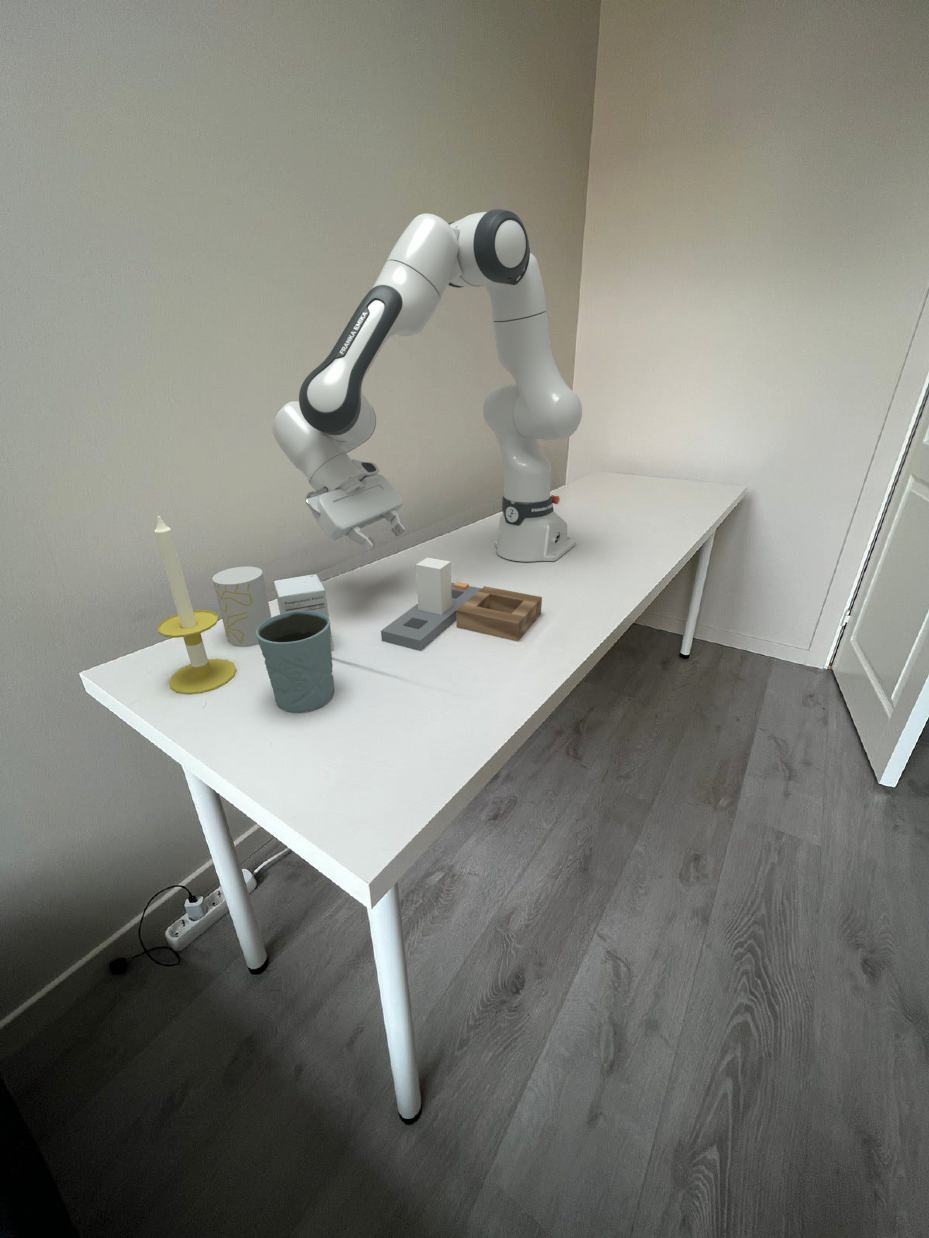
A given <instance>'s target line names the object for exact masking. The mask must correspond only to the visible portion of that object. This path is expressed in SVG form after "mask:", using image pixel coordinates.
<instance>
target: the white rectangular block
mask: <svg viewBox="0 0 929 1238" xmlns="http://www.w3.org/2000/svg"><path fill="white" fill-rule="evenodd" d="M415 573H416V574H415V576H416V593H417V604H418V610H422V611H427V612H431V613H436V614H440V615H442V614H443V613H444V612H446V611H447V610H448V609H449V608H450V607H452V589H451V583H452V562H451V560H450V561H449V560H443V559H437V558H432V557H425V558H424V559H422V560H420V561H419V562H418V563H416V564H415Z"/></svg>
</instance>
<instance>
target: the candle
mask: <svg viewBox="0 0 929 1238" xmlns="http://www.w3.org/2000/svg"><path fill="white" fill-rule="evenodd" d="M156 513H157V516H156V527H155V529H154V536H155V539H156V543H157V546H158V550H159V553H160V556H161V560H162V563H163V566H164V570H165V573H166V577H167V580H168V584H169V588H170V591H171V594H172V598H173V602H174V605H175V609H176V613H177V614H174V615H171V616H168V617H167V618H166V619H163V620H162V621H160V623H159V624H158V626H157V628H156V629H157V631H158V634H160V635H161V636H163V637H166V638H174V639H175V638H176V639H177V638H183V640H184V641H183V642H184V645H185V648H186V652H187V655H188V659H189V662H190V664H187V665H185V666H183V667H181V668H179V669H178V670H176V672H174V673H173V674H172V675H171V677H170V678H169V680H168V684H169V685H168V686H169V688H170V690H171V691H173V692H175V693H176V694H183V695H196V694H197V695H198V694H204V693H207V692H210V691H215V690H216V689H219V688H220V687H222V686H225V684H228V683H229V682H230V681H231V680H232V679H234V677H235V675H236V672H237V667H236V666H235V663H234V662H232V661H230V660H228V659H222V658H209V659H208V656H207V652H206V648H205V645H204V644H205V643H204V640H203V637H202V633H205V632H206V631H209V630H211V628H213V627H215V626H216V625H217V623H218V621H219V615H218V614H217V613H216V612H214V611H212V610H205V609H196V610H194V609H193V606H192V602H191V598H190V595H189V591H188V587H187V584H186V579H185V575H184V573H183V569H182V565H181V562H180V561H181V560H180V557H179V554H178V550H177V546H176V543H175V539H174V535H173V532H172V528H171V527H169V526H168V525H166V523H165V522H164V520H163V519H162V517H161V515H159V512H156Z"/></svg>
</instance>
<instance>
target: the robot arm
mask: <svg viewBox="0 0 929 1238" xmlns="http://www.w3.org/2000/svg"><path fill="white" fill-rule="evenodd" d="M542 277H543V276H542V274H541V270H540V265H539V261H538V259H537V258H536V256H535V255H534V254H533V253H531V248H530V242H529V236H528V233H527V230H526V227H525V225H524V223H523V221H522V219H521V218H520V217H519V216H518V215H517V214H516V213H514V212H513V211H510V210H507V209H501V208H494V209H491V210H489V211H481V212H474V213H472V214H469V215H466V216H465V217H463V218H461V219H458V220H456V221H451V222H447V221H446V220H444V218H442V217H440V216H438V215H436V214H434V213H421V214H418V215H417V216H415V217H414V218H413V219H412V220H411V221H410V223H409V224H408V225H407V226H406V228H405V229H404V231H403V232H402V234H401V235H400V237H399V239H398V240H397V241H396V242H395V244H394V246H393V248H392V250H391V252H390V253H389V255H388V257H387V260H386V262H385V263H384V265H383V267H382V269H381V271H380V273H379V275H378V277H377V279H376V280H375V282H374V284H373V286H372V288H371V289H370V290H369V291H368V292H367V293H366V295H365V296H364V297H363V299H362V300H361V302H360V303H359V304H358V306H357V308H356V309H355V310H354V312H353V314H352V316H351V318H350V319H349V321H348V323H346V326H345V327H344V329H343V331H342V333H341V334H340V336H339V338H338V339H337V341H336V343H335V344H334V346H333V348H332V349H331V351H330V353H329V354H328V355H327V356H326V358H325V359H324V360H323V361H322V362H321V363H320V364H319V365H318V366H317V367H315V368H314V369H313V370H312V371H311V372H310V373H308V374H307V376H306V377H305V379H304V380H303V382H302V384H301V385H300V388H299V393H298V400H297V401H295V400H293V401H289V402H287V403H285V404H284V405H283V406H281V407H280V409H278V411H277V413H276V414H275V416H274V419H273V422H272V427H271V428H272V434H273V436H274V438H275V441H276V442H277V444H278V446H279V447H280V449H281V450H282V452H283V454H285V455H286V457H287V459H289V461H290V462H291V463H292V464H293V465H294V467H295V468H296V469H297V470H299V471H300V472H301V473H303V475H304V476H305V478H306V480H307V482H308V485H310V486H311V487H312V489H313V490H314V491H313V490H312V491H309V492H307V493H306V497H305V499H304V500H305V504H306V506H307V507H308V508H309V510H310V511H311V514H312V515H313V517H314V519H315V521H316V523H317V525H318V526H319V527H320V529H321V530H322V532H323V533H324V534H325V535H326V536H327V537H328V538H330V539H332V540H333V541H337V540H339V539H341V538H344V537H346V536H347V537H348V538H349V539H350V541H353V543H356V544H359V545H360V546H361V547H363V549H364V550H365V551H366V552H370V551H372V550H374V549H375V547H376V546H377V542H376V541H375V540H374V538H373V537H372V536H370V537H368V536H366V535H365V534H363V533H362V532H361V531H362V530H361V529H363V528H365V527H367V526H370V525H372V524H374V523H377V522H379V521H381V520H383V519H384V520H386V522H388V523H389V522H390V525H391V527H392V529H391V532H392V533H393V534H394V536H396V537H398V536H401V535H403V534H404V532H405V531H406V528H405V527H404V525H403V524H402V523H401V519H400V516H399V513H398V511H399V510H400V509H401V507H402V506H403V505H404V502H403V498H402V496H401V495H400V493H399V492H398V491H397V489H396V488H395V487H394V485H392V483H391V482H390V481H389V480H388V478H386V476H384V475H382V474H379V472H380V468H379V467H378V466H377V464H375V463H374V462H369V461H361V460H357V459H354V458H353V459H351V458H350V456H349V455H348V454H347V453H349V452H351V451H353V450H355V449H357V448H358V447H359V446H361V445H363V444H364V443H366V442H367V441H368V440H369V439H370V438H371V437H372V435H373V434H374V432H375V429H376V426H377V416H376V412H375V410H374V407H373V406H372V404H371V403H370V402H369V401H368V399H367V398H366V396H364V395H363V383H364V380H365V377H366V376H367V374H368V373H369V370H370V369H371V367H372V366H373V364H374V363H375V360H377V359H376V358H377V357H378V356H379V353H380V352H381V350H382V349H383V347H384V345H385V344H386V342H387V341H388V340H389V339H390V338H391V337H393V336H399V337H400V336H401V337H410V336H414V335H417V334H419V333H421V332H422V331H423V329H425V327H426V326H427V324H428V323H429V322H430V320H431V319H432V317H433V315H434V314H435V312H436V310H437V309H438V306H439V304H440V302H441V300H442V299H443V296H444V294H445V292H446V289H447V287H448V286H449V287H453V288H457V289H459V288H460V289H461V288H478V287H479V288H480V287H483V286H484V288H485V289H486V291H487V293H488V295H489V298H490V303H491V304H490V305H491V315H492V316H491V317H492V323H493V330H494V331H493V332H494V338H495V345H496V352H497V357H498V361H499V363H500V365H501V366H502V367H503V368H504V369H505V370H506V371H508V373H509V374H510V375H511V376H512V379H513V381H514V382H515V384H512V383H510V384H506V385H505V384H504V385H501V386H497V387H494V388H493V389H491V390H490V391H489V392H488V393H487V394H486V396H485V399H484V401H483V407H482V408H483V409H482V415H483V419H484V421H485V423H486V425H487V426H488V427H489V428H490V429H491V431H492V432H493V434H494V435H495V438H496V440H497V443H498V446H499V450H500V453H501V456H502V457H501V458H502V463H503V477H504V479H503V480H504V481H503V483H504V485H503V492H504V493H503V496H502V497H501V498H502V499H501V500H502V501H501V512H502V514H501V515H500V516H499V523H498V532H497V540H495V541H494V546H495V548H496V551H495V552H496V555H498V556H499V557H500V558H503V559H506V560H509V561H514V562H515V561H516V562H524V563H525V562H526V563H527V562H541V561H543V562H555V561H557V560H559V559H560V558H561V557H562V556H564V555H565V554H566V553H567V552H569V551H570V550H571V549H572V548H573V547H574V546H576V545H577V543H576V540H575V539H573V538H572V537H570V536H568V524H567V521H565V520H564V519H563V518H562V517H561V516H560V515H559V514H557V513H556V512H555V511H554V504H555V505H559V503H560V499H561V498H560V496H559V495H553V494H552V495H551V484H552V464H551V462H550V460H549V458H548V457H547V456H546V455H545V454H544V453H543V451H542V449H541V447H540V444H539V441H538V439H539V440H542V441H543V440H545V441H555V440H563V439H567V438H570V437H571V436H573V435H574V433H575V432H576V431H577V430H578V428H579V426H580V424H581V421H582V416H583V407H582V402H581V400H580V397H579V396H578V394H577V393H575V392H574V391H573V390H572V389H571V388H570V387H569V386H568V384H567V383H566V382H565V380H564V379H563V377H562V375H561V372H560V370H559V368H558V366H557V363H556V361H555V358H554V355H553V351H552V347H551V341H550V340H551V339H550V331H549V323H548V312H547V311H548V309H547V301H546V295H545V288H544V283H543V278H542Z"/></svg>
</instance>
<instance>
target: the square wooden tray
mask: <svg viewBox="0 0 929 1238" xmlns="http://www.w3.org/2000/svg"><path fill="white" fill-rule="evenodd" d="M481 588H482V589H481V590H479V591H478V592H477V593H476V594H475V595H473V596H472V597H471V598H470V599H469V600H468V601H466V602H465V603H464V604H463V605H462V606H461V607H459V608H458V609H457V610H456V621H455V623H456V629H461V630H465V631H469V632H475V633H480V634H483V635H487V636H491V637H496V638H500V639H504V640H507V641H513V642H517V643H518V642H519V641H520V639H521V638H522V637H523V636H524V635H525V633H526V632H527V631H528V630H529V629H530V627H531V626H532V625H534V623H535V622H536V620H537V619H538V618H539V617H540V616H541V615H542V604H543V603H542V602H543V596H538V595H533V594H527V593H522V592H518V591H517V592H516V591H512V590H509V589H508V590H507V589H502V588H495V587H491V586H486V585H485V586H483V587H481Z"/></svg>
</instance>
